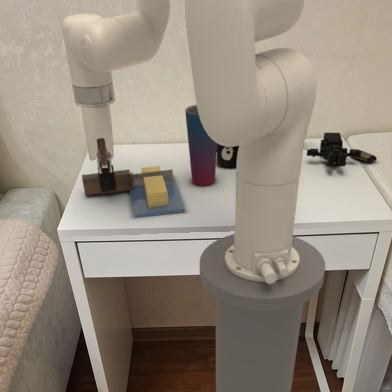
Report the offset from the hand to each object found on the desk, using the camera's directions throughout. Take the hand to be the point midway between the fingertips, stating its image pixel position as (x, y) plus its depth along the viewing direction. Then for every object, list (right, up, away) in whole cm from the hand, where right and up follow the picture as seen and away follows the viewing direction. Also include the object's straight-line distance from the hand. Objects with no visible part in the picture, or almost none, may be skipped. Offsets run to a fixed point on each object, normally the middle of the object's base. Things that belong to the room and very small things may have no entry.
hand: (108, 186), depth 106 cm
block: (+58, +10, +11) cm, 60 cm away
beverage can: (+27, +9, +12) cm, 31 cm away
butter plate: (+10, -2, 0) cm, 10 cm away
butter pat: (+9, +2, +3) cm, 10 cm away
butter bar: (+10, -3, -3) cm, 11 cm away
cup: (+20, +2, +4) cm, 21 cm away
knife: (+4, 0, +1) cm, 5 cm away
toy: (+49, +5, +3) cm, 50 cm away
